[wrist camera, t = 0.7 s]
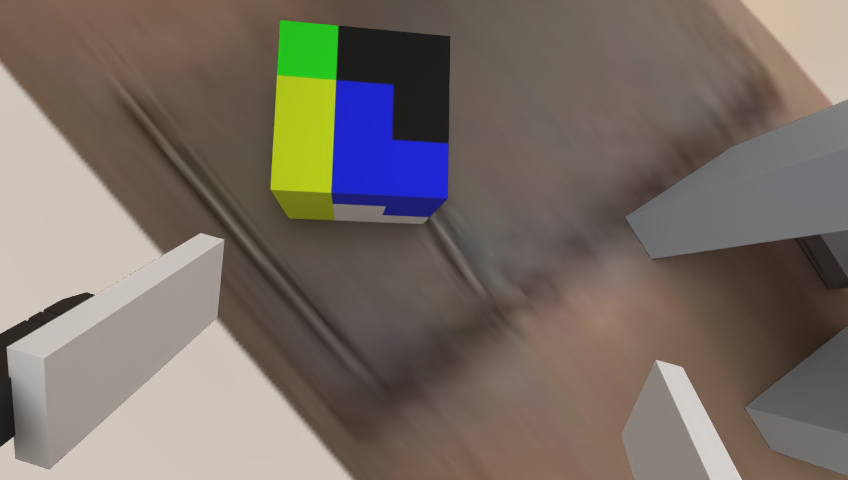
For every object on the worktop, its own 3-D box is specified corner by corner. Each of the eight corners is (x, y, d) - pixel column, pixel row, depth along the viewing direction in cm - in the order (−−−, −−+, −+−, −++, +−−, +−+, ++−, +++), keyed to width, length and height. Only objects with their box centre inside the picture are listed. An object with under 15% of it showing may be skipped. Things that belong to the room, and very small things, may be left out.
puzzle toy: (422, 224, 41) (447, 198, 31) (288, 218, 39) (270, 189, 30) (425, 99, 42) (450, 36, 32) (295, 89, 41) (280, 20, 31)
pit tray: (828, 288, 45) (853, 287, 43) (784, 218, 45) (807, 213, 43) (883, 246, 47) (911, 243, 44) (840, 178, 47) (865, 171, 44)
